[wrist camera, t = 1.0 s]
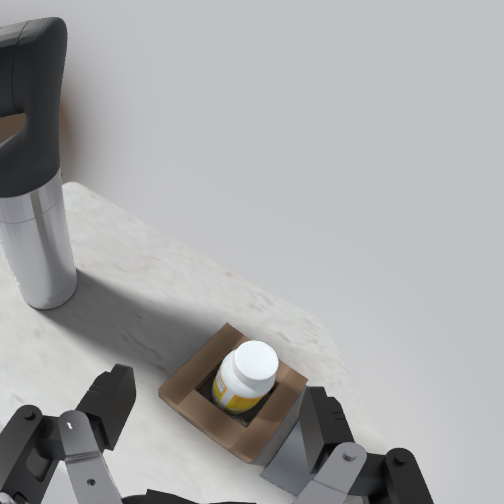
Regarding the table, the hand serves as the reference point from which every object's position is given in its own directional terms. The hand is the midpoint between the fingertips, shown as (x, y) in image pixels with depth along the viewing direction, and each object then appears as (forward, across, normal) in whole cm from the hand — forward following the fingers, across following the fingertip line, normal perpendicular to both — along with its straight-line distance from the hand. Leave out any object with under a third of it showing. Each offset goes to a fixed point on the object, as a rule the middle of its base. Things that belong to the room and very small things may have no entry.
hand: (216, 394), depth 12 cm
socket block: (+15, -1, +14) cm, 21 cm away
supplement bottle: (+15, -1, +14) cm, 21 cm away
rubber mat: (+9, -11, +19) cm, 23 cm away
